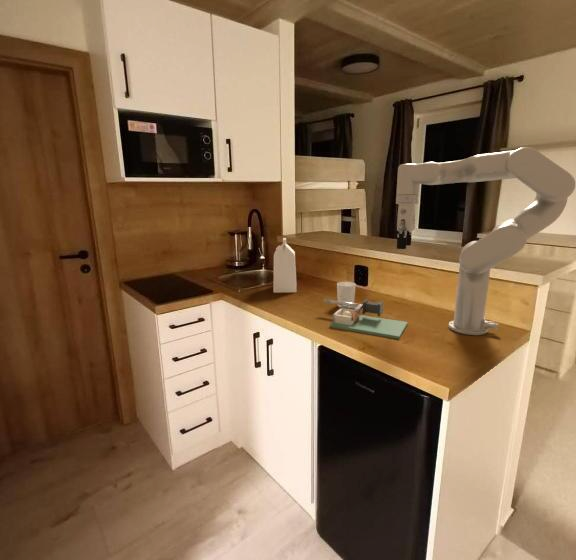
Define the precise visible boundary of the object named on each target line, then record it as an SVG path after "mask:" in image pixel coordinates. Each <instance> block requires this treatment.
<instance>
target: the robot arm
mask: <svg viewBox="0 0 576 560" xmlns="http://www.w3.org/2000/svg"><path fill="white" fill-rule="evenodd" d="M508 179H512V180H513V179H518V180H519V181H520V182H521V183H523V184H524V185H525V186H526V187H528V188H529V189H531V190H532V191H533V192H535V194H536V195H535V198H534V200H533V201H532V202H531V204H529V205H528V206H526V207H525V208H524V209H522V210H520V211H519V212H517V214H515V215H513V216H511V217H510V218H508V219H507V220H505V221H503V222H501V223H499V224H497V225H496V226H494V228H493V229H492V230H491V232H489V233H487V234H486V235H485V236H483V237H481V238H480V239H478V240H472V241H470V242H468V243H466V244H465V245H464V246H463V248H462V249H461V252H460V254H459V259H458V261H459V270H458V278H457V285H456V286H457V287H456V296H455V307H454V317H453V320H451V321H449V322H448V328H449V329H450V330H452V331H453V332H456V333H458V334H463V335H467V336H468V335H469V336H482V335H486V334H487V333H488V329H493V330H499V325H500V324H499V323H495V321H491V320H490V321H488V320H487V319H486V316H485V315H486V305H487V299H488V292H489V291H488V289H489V283H490V274H491V269H493V268H495V267H496V266H498V265H500V264H501V263H503V262H506V260H508V259H510V258H512V257H513V256H515V255H517V254H518V253H519V252H520V251H522V250H523V248H525V245H526V244H527V241H528V240H529V239H530V238H532V237H534V236H535V235H537V234H539V233H540V232H542V231H543V230H544V229H547V228H548V227H549V226H551V225H552V224H553V223H554V222H556V221H557V220H558V219H559V218H560V217H561V215H562V213H563V212H564V210H565V207H566V206H567V203H568V198H569V197H570V196H572V194H573V193H574V191H575V189H576V180H575V177H574V176H573V175H572V174H571V173H570V172H568V170H566V169H564V168H563V167H562V166H560V165H558V164H557V163H555V161H553V160H551V159H550V158H549V157H547V156H546V155H545V154H543V153H542V152H540V151H539V150H537V149H535V148H533V147H531V146H524V147H523V146H522V147H519V148H518V149H513V150H505V151H500V152H491V153H490V152H488V153H481V154H476V155H473V156H469V157H467V158H464V159H458V160H453V161H445V162H435V161H427V162H422V163H402V164H399V165H398V167H397V178H396V181H397V182H396V183H397V184H396V197H395V204H396V205H398V209H397V222H396V230H397V238H396V249H397V250H406V249H407V246H411V245H412V232H413V231H414V230H415V229H416V205H418V204H419V192H420V191H419V190H420V185H425V186H426V185H428V186H434V185H435V186H436V185H437V186H438V185H446V184H455V183H458V184H459V183H477V182H478V183H479V182H488V181H489V182H490V181H500V180H508Z"/></svg>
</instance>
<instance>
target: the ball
mask: <svg viewBox="0 0 576 560" xmlns="http://www.w3.org/2000/svg"><path fill="white" fill-rule="evenodd" d="M342 315H344V316H350V317H352V315H351V313H350V312H349V311H345V312H343V314H342Z"/></svg>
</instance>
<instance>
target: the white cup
mask: <svg viewBox="0 0 576 560" xmlns="http://www.w3.org/2000/svg"><path fill="white" fill-rule="evenodd" d="M356 286H357V284H356V283H355V282H351V281H340V282H337V283H336V295H337V297H336V299H337V301H343V302H350V303H355V295H356ZM341 306H342V305H339V304H337V307H338V308H339V309H340V308H341ZM350 307H351V306H348V309H350Z"/></svg>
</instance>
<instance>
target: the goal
mask: <svg viewBox="0 0 576 560" xmlns="http://www.w3.org/2000/svg"><path fill="white" fill-rule="evenodd" d="M345 311H349V312H350V313H351V315H352V317H350V316H344V315H342V314H343V312H345ZM354 311H355V310H352V309H350V308H348V309H345V308H340V307H339V309H338V310H336V311H335V312H334V313H333V314H332V322H334V323H340V324H346V325H351V321H352V318H353V313H354Z"/></svg>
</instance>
